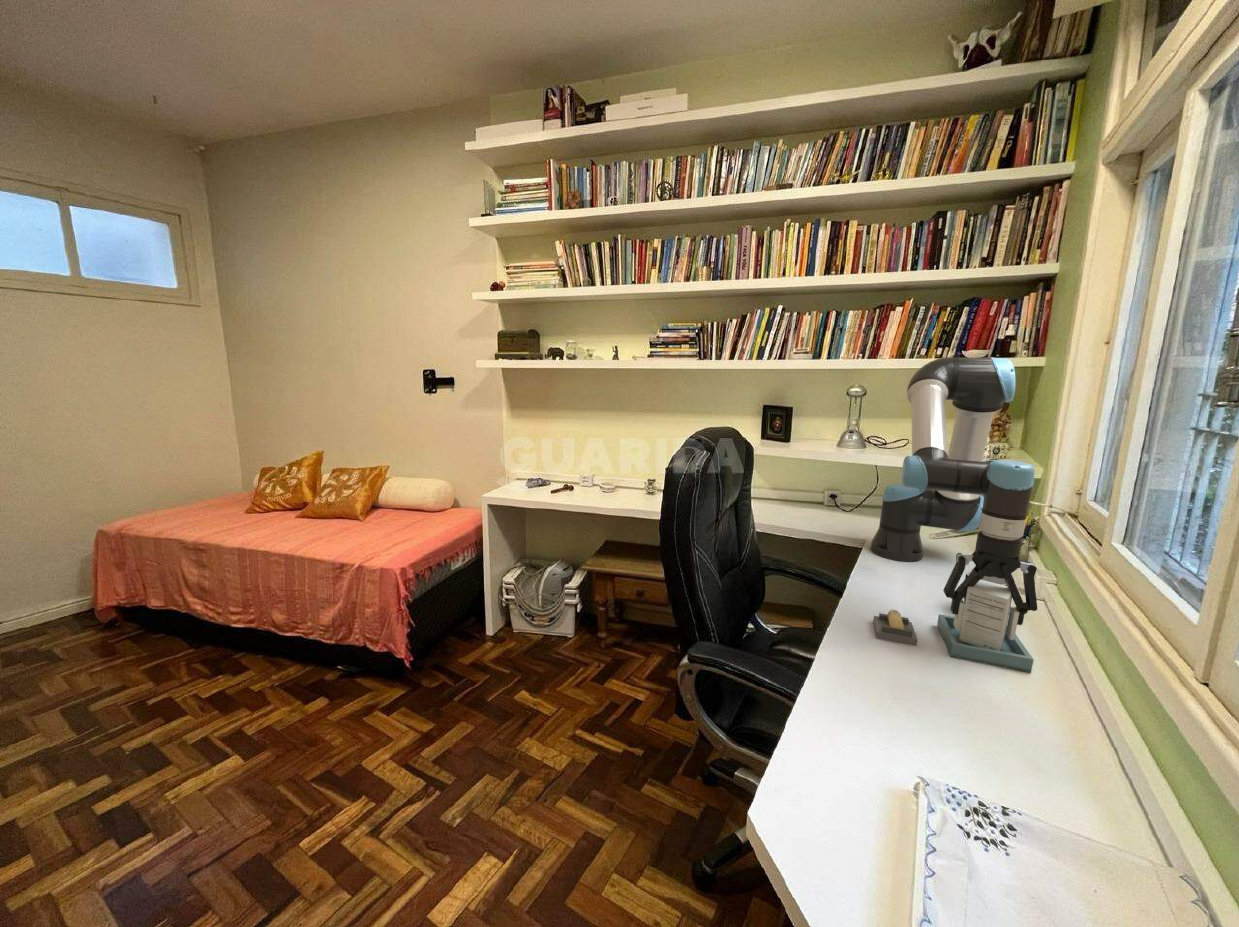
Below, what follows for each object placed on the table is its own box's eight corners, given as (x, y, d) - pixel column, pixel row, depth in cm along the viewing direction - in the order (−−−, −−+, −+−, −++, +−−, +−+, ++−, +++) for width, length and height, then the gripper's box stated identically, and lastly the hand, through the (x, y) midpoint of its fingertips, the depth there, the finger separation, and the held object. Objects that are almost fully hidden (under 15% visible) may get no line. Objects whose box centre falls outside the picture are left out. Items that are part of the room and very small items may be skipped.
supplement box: (965, 628, 116) (974, 576, 113) (1004, 641, 110) (1015, 587, 108) (957, 640, 110) (966, 586, 108) (998, 654, 105) (1009, 598, 103)
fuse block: (873, 621, 121) (875, 604, 120) (910, 628, 118) (913, 611, 117) (876, 638, 114) (878, 620, 113) (916, 646, 111) (919, 627, 110)
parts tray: (936, 625, 120) (938, 614, 119) (1008, 638, 115) (1010, 626, 114) (950, 657, 107) (952, 644, 106) (1031, 672, 102) (1033, 659, 101)
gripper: (943, 532, 106) (928, 630, 111) (1073, 548, 98) (1051, 652, 103) (936, 522, 113) (922, 614, 117) (1057, 536, 105) (1037, 634, 109)
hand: (982, 632), depth 110 cm, fingers closed on supplement box, 9 cm apart
